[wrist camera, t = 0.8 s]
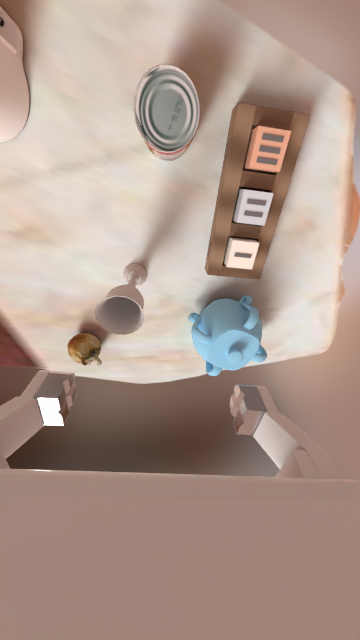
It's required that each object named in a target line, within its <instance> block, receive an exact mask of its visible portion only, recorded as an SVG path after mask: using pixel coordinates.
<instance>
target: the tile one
mask: <svg viewBox="0 0 360 640" xmlns="http://www.w3.org/2000/svg"><path fill="white" fill-rule="evenodd" d="M258 247H259V242H257V241H256V240H252V239H243V238H234V237H229V241H228V246H227V250H226V255H225V260H224V264H225V265H226V267H231V268H241V269H251V270H252V268H253V264H254V261H255V257H256V254H257V250H258Z"/></svg>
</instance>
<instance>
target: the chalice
mask: <svg viewBox="0 0 360 640" xmlns="http://www.w3.org/2000/svg"><path fill="white" fill-rule="evenodd" d="M124 278H125V280H126V281H127V282H128V284H127V285H121V286H118V287H115V288H114V289H112V290H111V291H110V292H109V293H108V295H107V297H106V298H105V299H104V300H102V301H101V302H100V303H99V304H98V305H97V308H96V311H95V315H96V319H97V321H98V323H99V325H100V326H101V327H102V328H104V329H105V330H107V331H109V332H111V333H114V334H123V335H125V334H130V333H133V332H135V331H137V330H138V329H139V328H140V327H141V326H142V324H143V321H144V313H143V306H144V300H143V297H142V295H141V293H140V292H139V291H138V289H136V288H135V286H137V285H141V284H143V283H144V282H145V281H146V278H147V273H146V270H145V269H144V267H142V266H141V265H139V264H134V263H133V264H129V265H128V266H127V267H126V268H125V269H124Z"/></svg>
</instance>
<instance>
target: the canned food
mask: <svg viewBox="0 0 360 640" xmlns="http://www.w3.org/2000/svg"><path fill="white" fill-rule="evenodd" d="M134 115H135V121H136V124H137V127H138V130H139V132H140V134H141V136H142V137H143V139H144V141H145V142H146V144H147V146H148V148H149V149H150V151H151V152H152V153H153V154H154V155H155V156H156V157H158V158H159V159H161V160H165V161H172V160H175V159H177V158H179V157H180V156H182V155H183V154H184V153H185V151H186V150H187V148H188V146H189V144H190V142H191V141H192V139H193V137H194V134H195V132H196V130H197V127H198V123H199V117H200V102H199V98H198V93H197V90H196V88H195V86H194V84H193V81H192V80H191V79H190V78H189V76H188V75H187V74H186V73H185V72H184V71H183V70H181V69H180V68H178V67H176V66H173V65H170V64H163V65H157V66H155V67H153V68H151V69H150V70H149V71H148V72H147V73H146V74H145V75H144V76H143V77H142V79H141V81H140V82H139V84H138V86H137V90H136V93H135V97H134Z"/></svg>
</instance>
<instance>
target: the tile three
mask: <svg viewBox="0 0 360 640" xmlns="http://www.w3.org/2000/svg"><path fill="white" fill-rule="evenodd" d="M290 134H291V131H288V130H282V129H276V128H270V127H263V126H257V127H256V128H254V129H253V130H252V134H251V138H250V143H249V148H248V152H247V157H246V162H245V166H244V169H251V170H258V171H265V172H272V173H273V172H280V169H281V166H282V162H283V159H284V155H285V152H286V148H287V145H288V141H289V138H290Z"/></svg>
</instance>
